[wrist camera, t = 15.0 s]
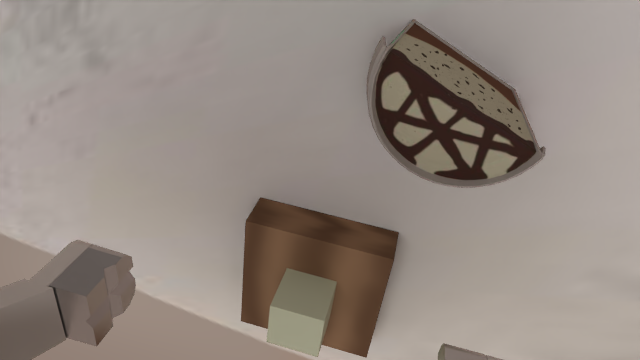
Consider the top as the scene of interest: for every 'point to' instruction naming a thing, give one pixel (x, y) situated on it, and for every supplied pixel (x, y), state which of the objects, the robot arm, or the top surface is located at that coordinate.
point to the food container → (447, 113)
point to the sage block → (301, 312)
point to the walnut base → (318, 267)
